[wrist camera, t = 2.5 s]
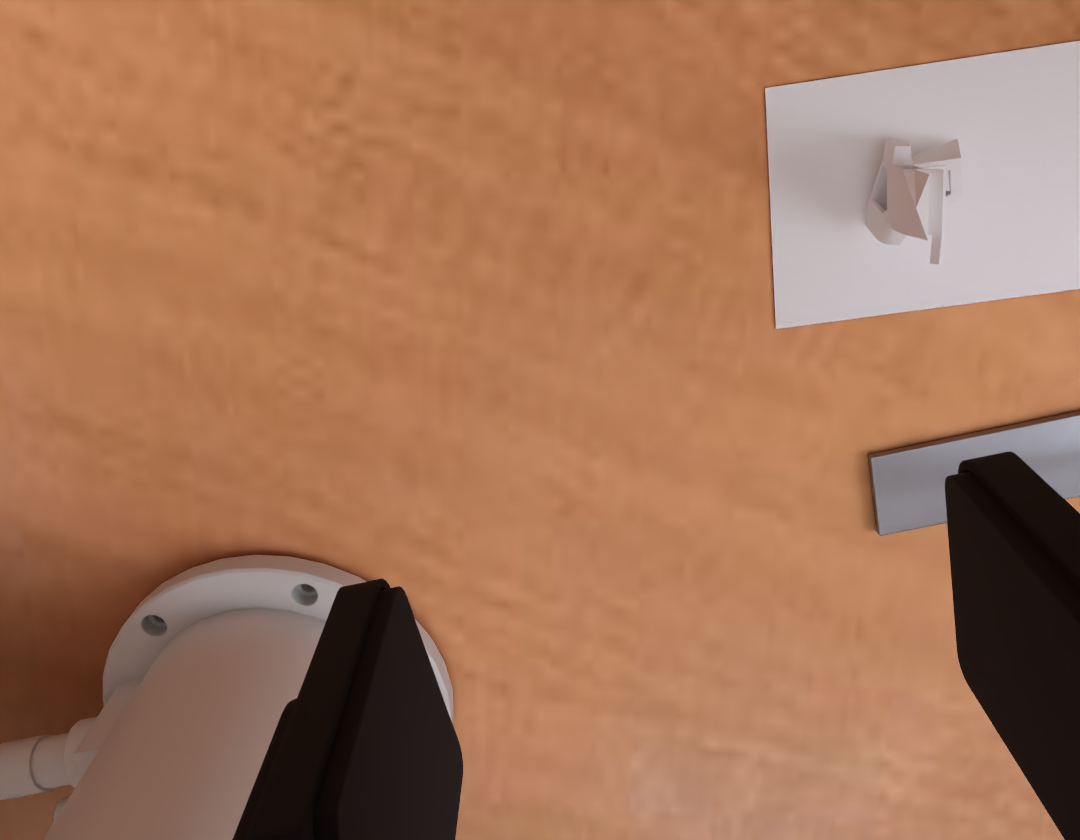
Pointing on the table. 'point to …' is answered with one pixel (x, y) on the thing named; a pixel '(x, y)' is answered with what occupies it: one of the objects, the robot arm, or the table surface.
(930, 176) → the adhesive hook
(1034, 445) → the steel ruler
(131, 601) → the table surface
